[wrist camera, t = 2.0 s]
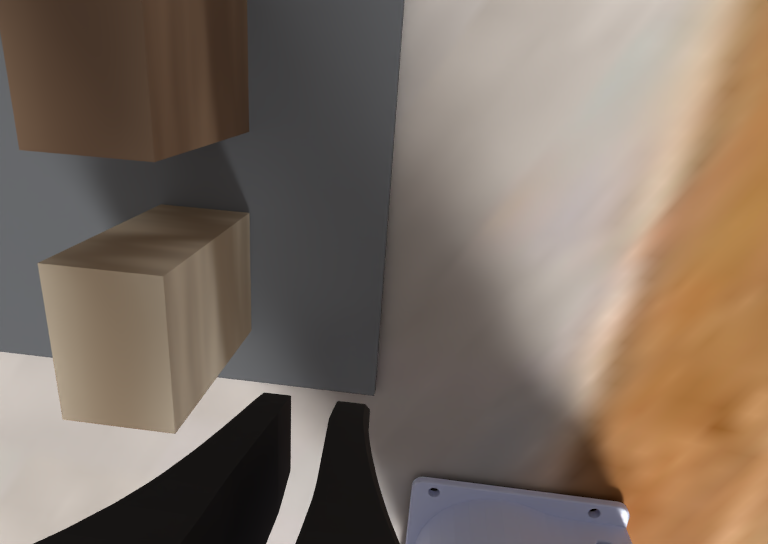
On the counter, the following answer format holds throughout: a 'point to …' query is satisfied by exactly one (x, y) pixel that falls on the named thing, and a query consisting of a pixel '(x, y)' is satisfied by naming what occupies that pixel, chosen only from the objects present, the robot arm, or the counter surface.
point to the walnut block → (126, 75)
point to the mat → (248, 195)
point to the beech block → (148, 315)
